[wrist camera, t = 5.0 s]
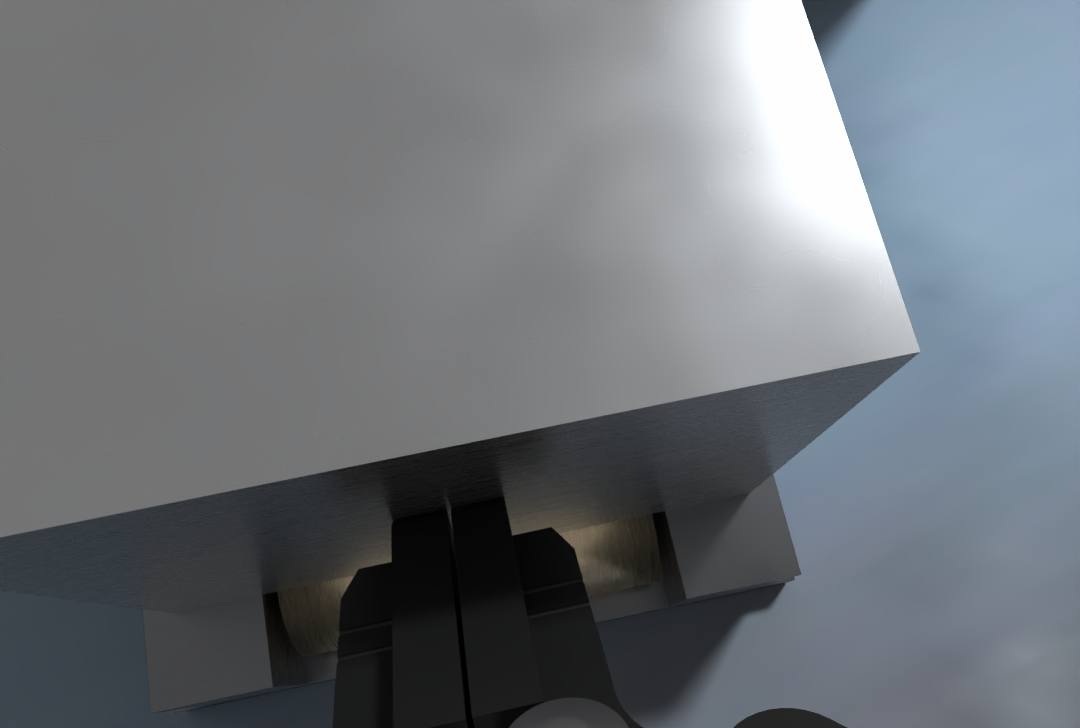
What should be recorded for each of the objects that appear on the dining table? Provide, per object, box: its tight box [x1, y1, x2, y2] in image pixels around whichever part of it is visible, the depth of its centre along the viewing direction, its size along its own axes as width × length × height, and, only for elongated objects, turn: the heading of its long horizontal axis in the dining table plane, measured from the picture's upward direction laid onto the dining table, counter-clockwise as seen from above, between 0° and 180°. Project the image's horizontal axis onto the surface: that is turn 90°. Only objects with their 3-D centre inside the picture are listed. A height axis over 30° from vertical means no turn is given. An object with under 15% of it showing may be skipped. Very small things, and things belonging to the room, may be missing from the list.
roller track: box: [143, 474, 801, 713], centre depth 21 cm, size 22×12×3 cm, turn 12°
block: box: [0, 0, 920, 613], centre depth 14 cm, size 11×10×8 cm
